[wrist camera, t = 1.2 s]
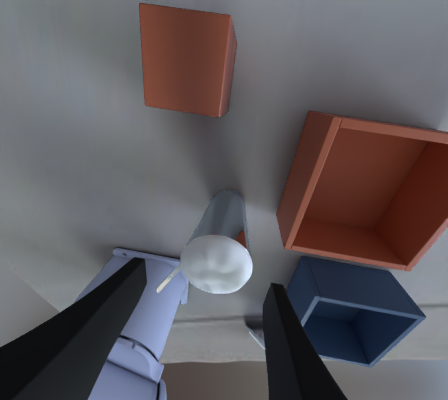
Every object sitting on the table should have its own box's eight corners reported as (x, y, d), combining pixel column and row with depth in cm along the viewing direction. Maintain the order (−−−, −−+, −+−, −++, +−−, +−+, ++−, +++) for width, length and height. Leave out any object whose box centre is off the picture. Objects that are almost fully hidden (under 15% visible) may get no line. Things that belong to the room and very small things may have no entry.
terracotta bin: (276, 215, 19) (283, 249, 15) (308, 110, 15) (333, 116, 10) (373, 232, 19) (410, 271, 14) (437, 130, 14) (518, 144, 10)
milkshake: (194, 183, 19) (145, 260, 10) (250, 181, 18) (251, 263, 9) (201, 223, 21) (165, 315, 12) (251, 222, 20) (253, 321, 11)
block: (174, 103, 16) (144, 105, 11) (174, 33, 13) (138, 1, 9) (228, 112, 15) (219, 117, 11) (237, 42, 13) (231, 14, 9)
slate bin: (278, 308, 26) (284, 350, 21) (301, 255, 21) (315, 295, 17) (350, 322, 25) (371, 367, 21) (390, 271, 21) (426, 317, 16)
